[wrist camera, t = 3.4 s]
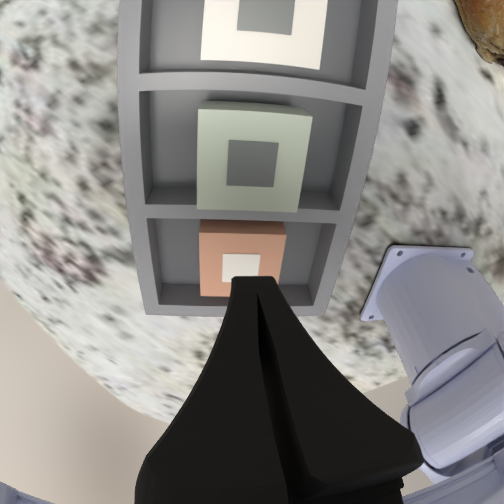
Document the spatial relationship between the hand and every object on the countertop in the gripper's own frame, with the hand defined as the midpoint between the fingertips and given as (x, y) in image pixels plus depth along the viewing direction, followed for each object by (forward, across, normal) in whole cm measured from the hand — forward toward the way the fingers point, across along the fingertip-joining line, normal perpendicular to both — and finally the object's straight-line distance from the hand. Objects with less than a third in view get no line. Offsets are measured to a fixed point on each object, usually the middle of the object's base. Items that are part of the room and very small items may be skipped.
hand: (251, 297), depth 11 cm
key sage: (+7, 0, -3) cm, 7 cm away
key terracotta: (+8, 0, +4) cm, 9 cm away
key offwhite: (+7, 0, -9) cm, 12 cm away
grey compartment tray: (+10, 0, -3) cm, 10 cm away
